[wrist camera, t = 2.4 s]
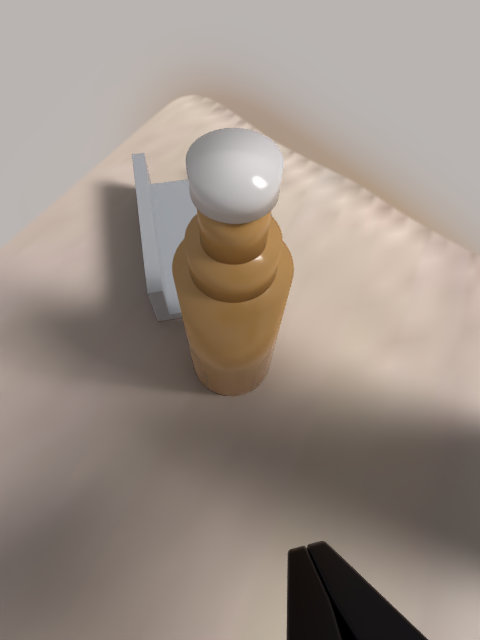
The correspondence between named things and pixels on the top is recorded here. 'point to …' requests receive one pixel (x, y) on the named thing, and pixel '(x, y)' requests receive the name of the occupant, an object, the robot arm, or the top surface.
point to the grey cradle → (161, 234)
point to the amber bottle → (233, 259)
